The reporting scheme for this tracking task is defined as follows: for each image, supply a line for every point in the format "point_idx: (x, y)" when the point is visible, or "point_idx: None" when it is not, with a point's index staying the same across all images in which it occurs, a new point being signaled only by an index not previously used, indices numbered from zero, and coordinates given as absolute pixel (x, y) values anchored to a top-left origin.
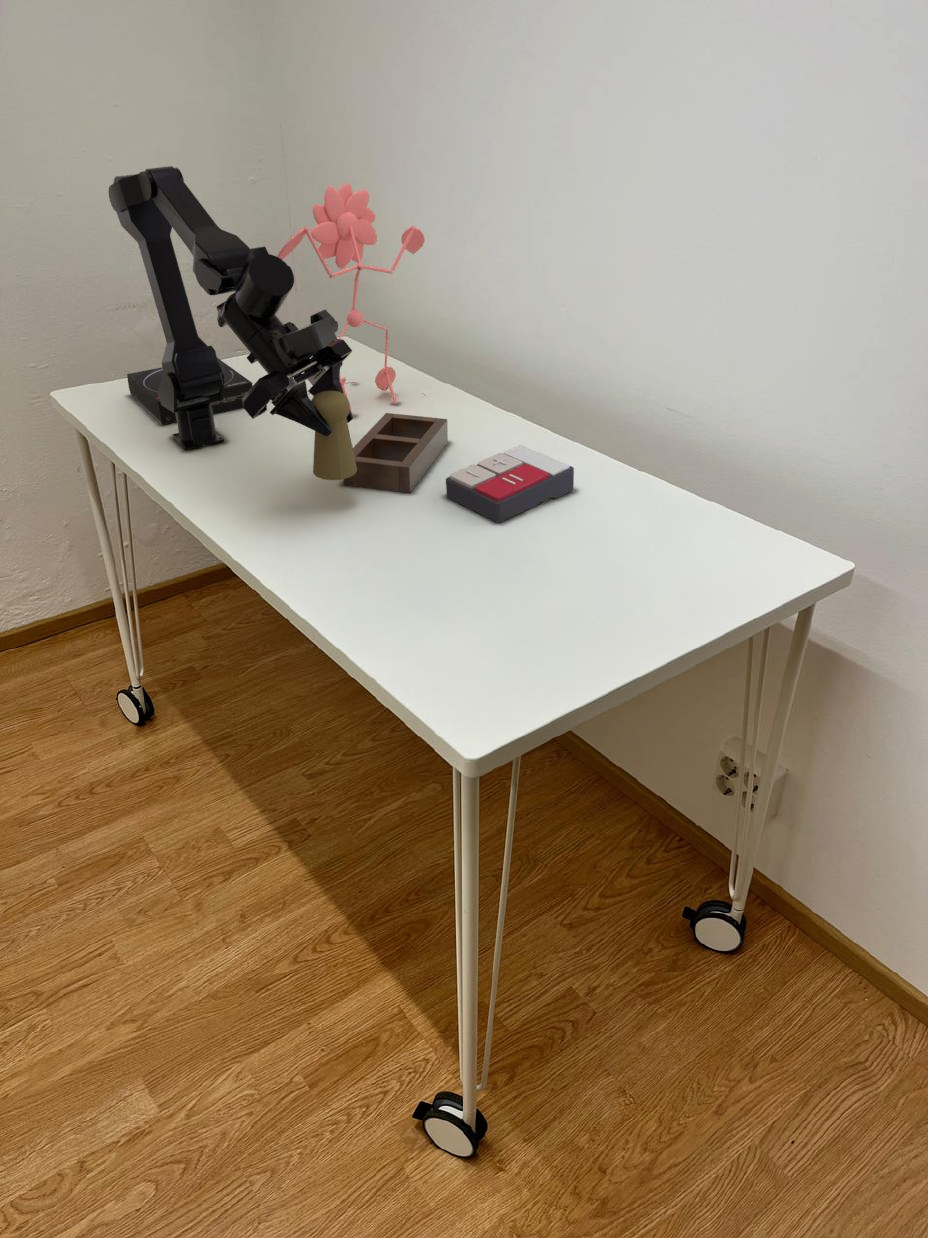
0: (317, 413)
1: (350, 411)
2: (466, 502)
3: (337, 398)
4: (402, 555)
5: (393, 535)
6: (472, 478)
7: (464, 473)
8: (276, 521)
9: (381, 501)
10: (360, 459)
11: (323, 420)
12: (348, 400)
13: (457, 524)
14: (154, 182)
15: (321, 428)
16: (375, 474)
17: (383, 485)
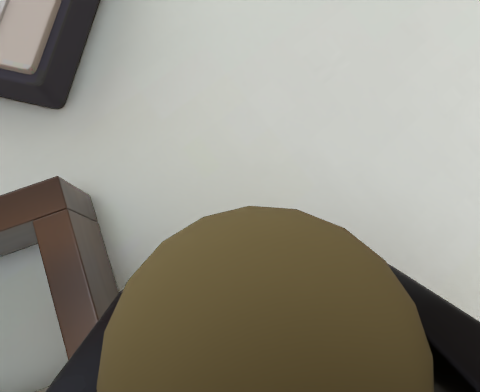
0: (446, 325)
1: (107, 313)
2: (81, 33)
3: (284, 253)
4: (347, 25)
5: (291, 91)
6: (21, 6)
7: (2, 40)
8: None
9: (169, 225)
10: None
11: None
12: (165, 241)
13: (166, 15)
14: None
15: None
16: (102, 285)
17: (106, 264)
